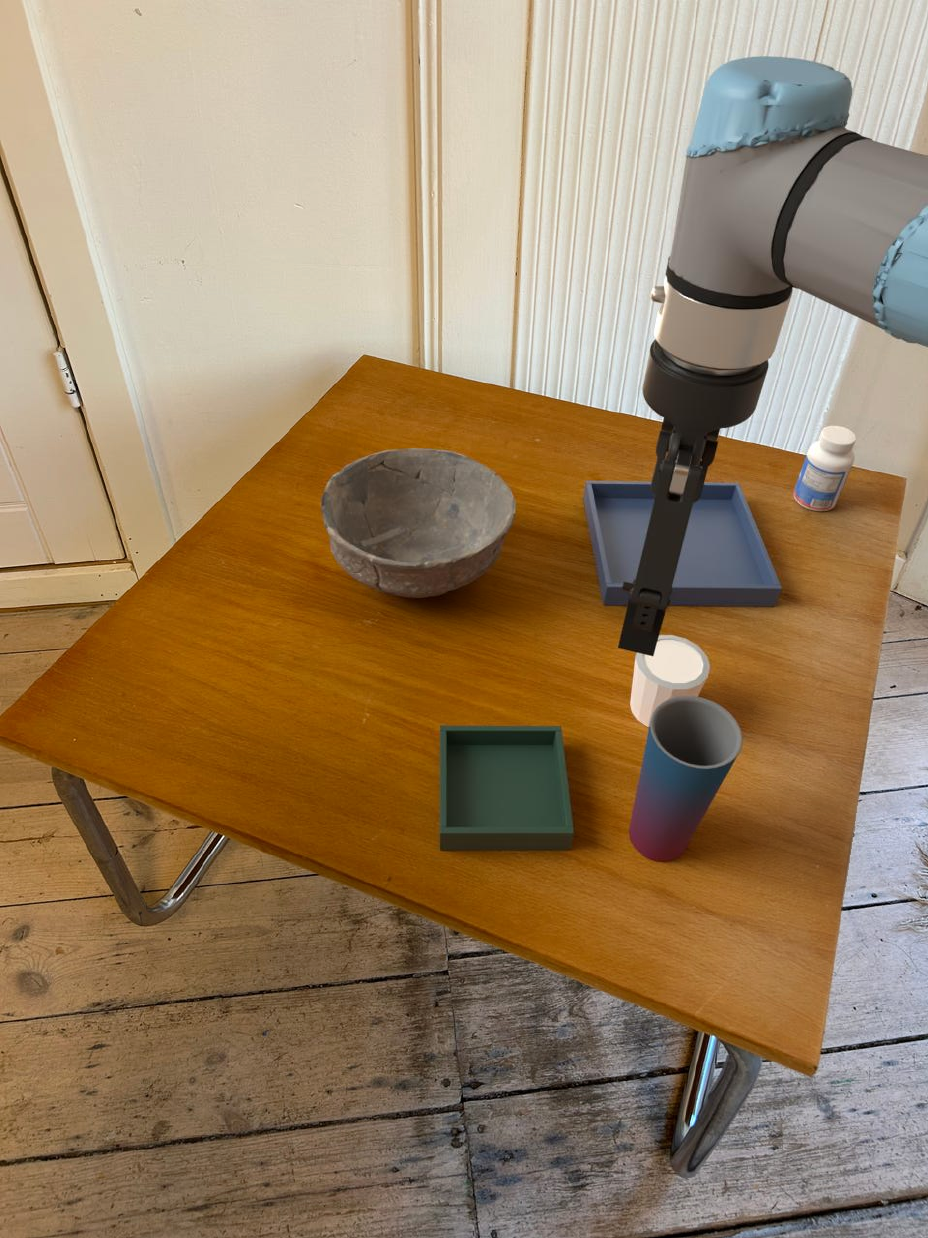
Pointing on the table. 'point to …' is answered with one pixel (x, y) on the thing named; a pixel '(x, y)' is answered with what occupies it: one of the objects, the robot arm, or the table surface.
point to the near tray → (504, 789)
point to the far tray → (711, 552)
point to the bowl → (416, 520)
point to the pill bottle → (825, 469)
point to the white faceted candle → (667, 675)
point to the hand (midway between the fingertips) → (649, 590)
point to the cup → (681, 773)
